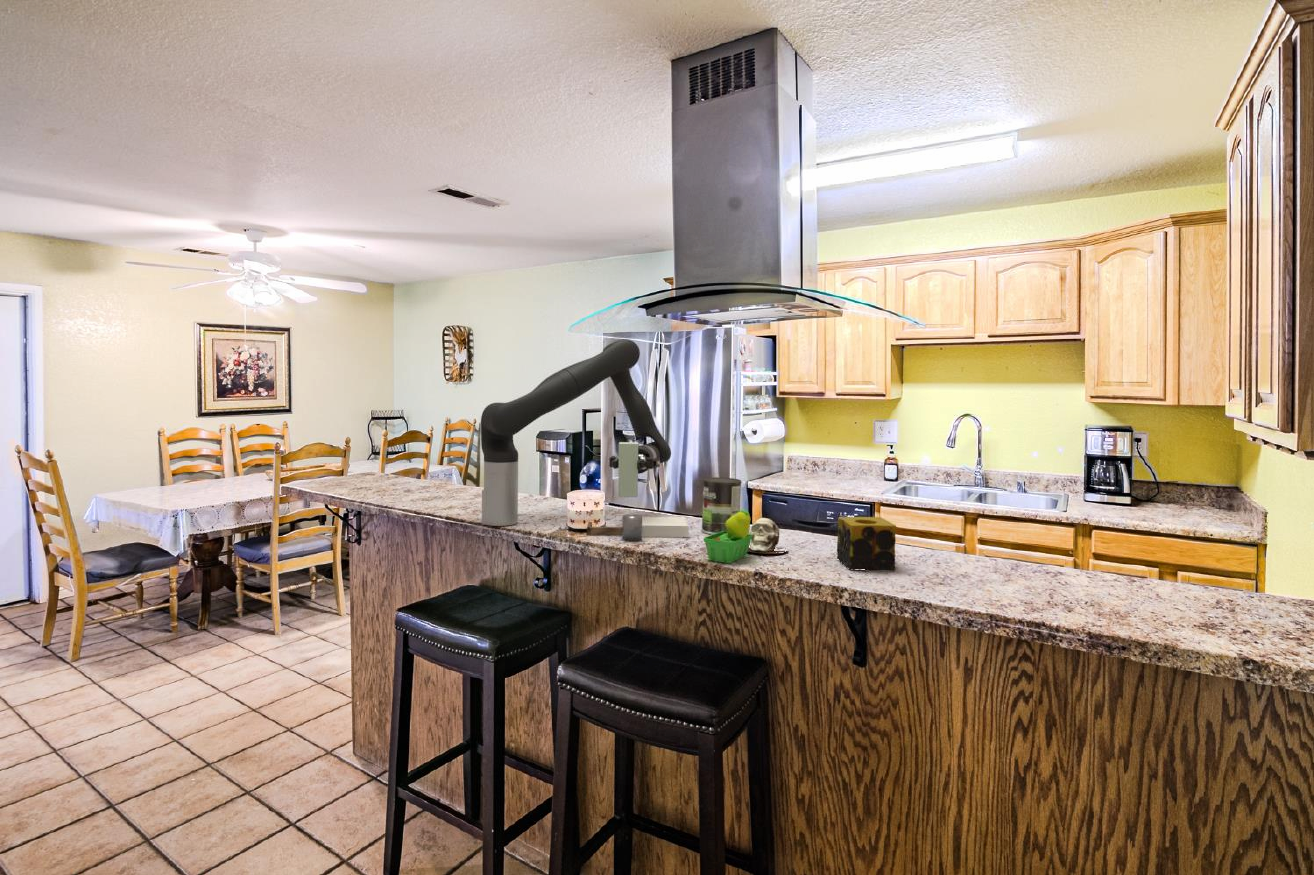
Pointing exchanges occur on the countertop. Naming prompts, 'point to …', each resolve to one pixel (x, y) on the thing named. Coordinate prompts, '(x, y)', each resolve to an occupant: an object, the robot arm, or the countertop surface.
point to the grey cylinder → (632, 527)
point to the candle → (866, 543)
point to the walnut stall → (603, 530)
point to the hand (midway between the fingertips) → (626, 465)
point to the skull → (764, 536)
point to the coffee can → (719, 503)
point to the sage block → (628, 469)
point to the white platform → (664, 527)
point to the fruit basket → (730, 539)
